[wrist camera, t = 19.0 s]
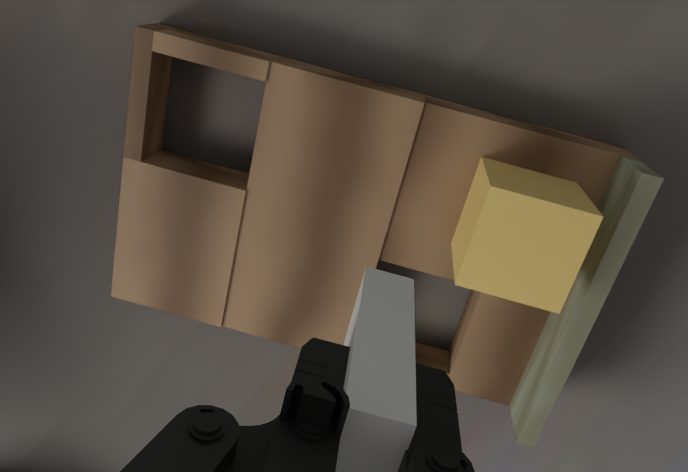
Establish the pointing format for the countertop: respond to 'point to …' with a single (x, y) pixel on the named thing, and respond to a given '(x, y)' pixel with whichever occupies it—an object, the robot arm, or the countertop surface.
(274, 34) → the countertop surface
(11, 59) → the countertop surface
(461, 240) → the cube
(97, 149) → the countertop surface
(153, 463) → the robot arm
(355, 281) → the trap deck
